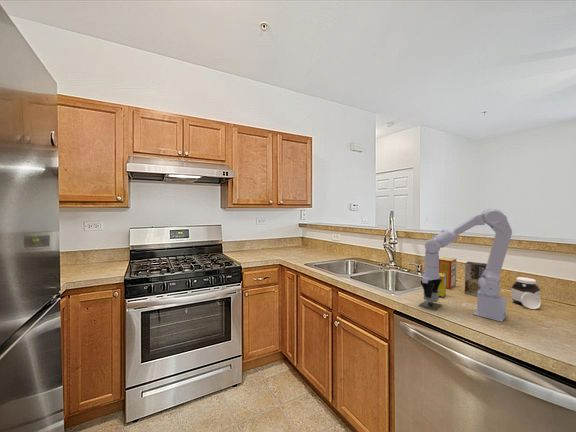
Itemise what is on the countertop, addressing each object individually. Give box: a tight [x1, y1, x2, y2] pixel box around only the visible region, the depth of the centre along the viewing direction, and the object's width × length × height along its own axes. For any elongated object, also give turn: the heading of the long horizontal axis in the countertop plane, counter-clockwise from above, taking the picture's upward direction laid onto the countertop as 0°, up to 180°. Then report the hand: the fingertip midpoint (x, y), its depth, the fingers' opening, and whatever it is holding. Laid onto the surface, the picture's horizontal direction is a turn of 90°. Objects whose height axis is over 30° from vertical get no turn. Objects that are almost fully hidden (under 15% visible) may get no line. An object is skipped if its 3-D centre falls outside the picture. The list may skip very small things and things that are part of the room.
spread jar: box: [510, 276, 542, 310], centre depth 123 cm, size 12×11×12 cm
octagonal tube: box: [423, 290, 439, 303], centre depth 121 cm, size 5×5×4 cm
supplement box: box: [438, 273, 447, 299], centre depth 136 cm, size 6×6×11 cm
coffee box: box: [464, 261, 487, 297], centre depth 138 cm, size 9×6×16 cm
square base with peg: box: [418, 300, 443, 311], centre depth 121 cm, size 7×7×4 cm
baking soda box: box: [439, 256, 457, 291], centre depth 151 cm, size 10×6×16 cm
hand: (430, 296), depth 121 cm, fingers closed on octagonal tube, 5 cm apart
